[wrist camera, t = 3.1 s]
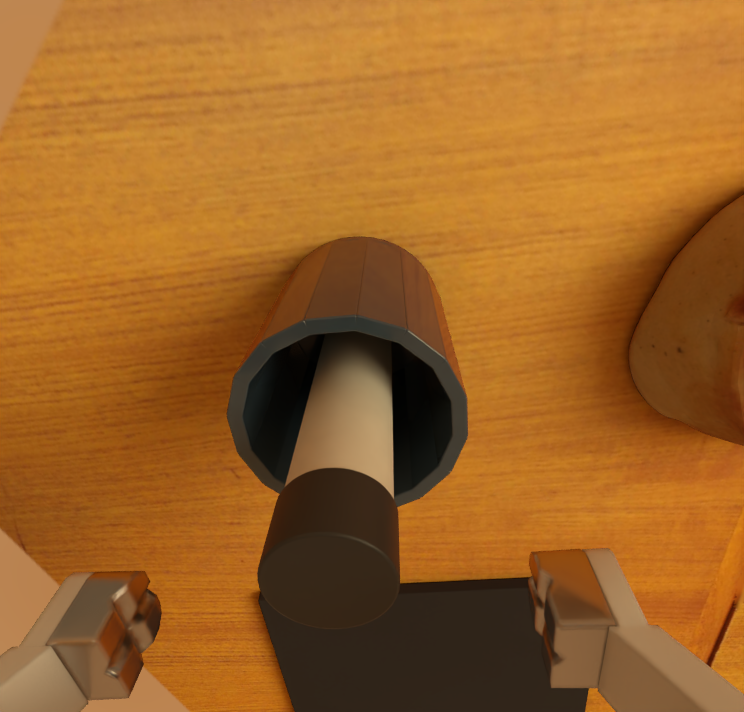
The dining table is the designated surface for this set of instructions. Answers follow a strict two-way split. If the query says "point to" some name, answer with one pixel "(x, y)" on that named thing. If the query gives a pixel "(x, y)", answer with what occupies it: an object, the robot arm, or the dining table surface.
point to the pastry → (698, 332)
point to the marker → (338, 495)
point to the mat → (425, 655)
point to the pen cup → (366, 315)
